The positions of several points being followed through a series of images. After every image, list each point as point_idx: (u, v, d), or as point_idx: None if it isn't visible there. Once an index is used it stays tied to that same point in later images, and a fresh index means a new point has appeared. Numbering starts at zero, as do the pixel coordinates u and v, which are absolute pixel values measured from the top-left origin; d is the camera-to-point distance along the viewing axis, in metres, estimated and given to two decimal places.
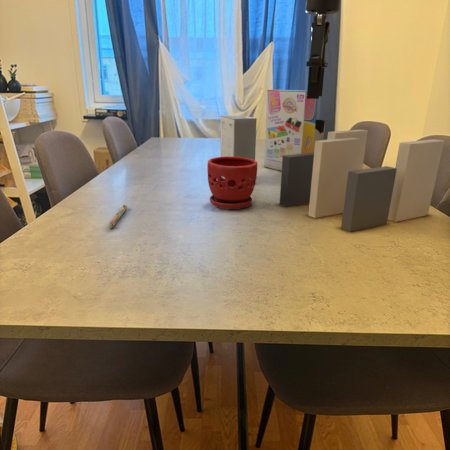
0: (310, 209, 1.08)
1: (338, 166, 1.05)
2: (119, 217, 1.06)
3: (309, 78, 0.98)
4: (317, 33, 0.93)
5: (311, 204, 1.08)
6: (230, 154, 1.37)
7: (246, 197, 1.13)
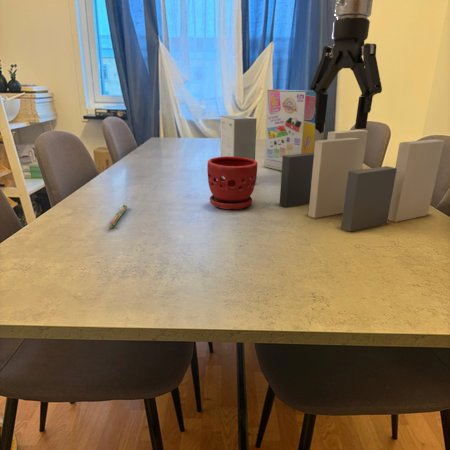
0: (310, 209, 1.08)
1: (338, 166, 1.05)
2: (119, 217, 1.06)
3: (360, 108, 0.94)
4: (372, 63, 0.90)
5: (311, 204, 1.08)
6: (230, 154, 1.37)
7: (246, 197, 1.13)
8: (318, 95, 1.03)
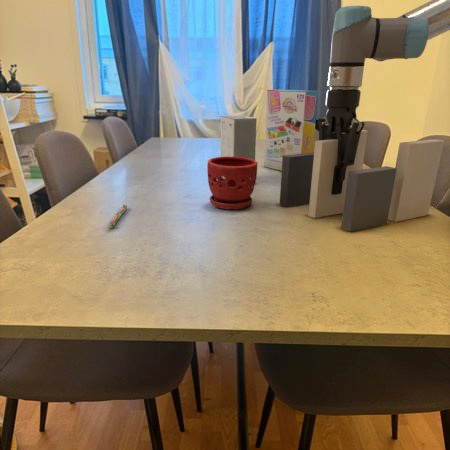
0: (310, 209, 1.08)
1: None
2: (119, 217, 1.06)
3: (336, 177, 1.05)
4: (354, 140, 0.98)
5: (311, 204, 1.08)
6: (230, 154, 1.37)
7: (246, 197, 1.13)
8: None
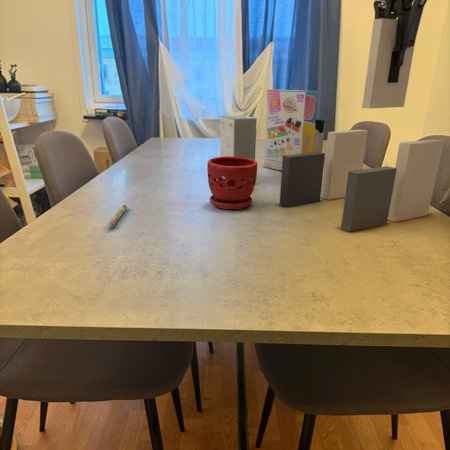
0: (364, 100, 1.03)
1: (395, 50, 0.99)
2: (119, 217, 1.06)
3: (393, 62, 0.99)
4: (417, 15, 0.93)
5: (365, 94, 1.02)
6: (230, 154, 1.37)
7: (246, 197, 1.13)
8: None
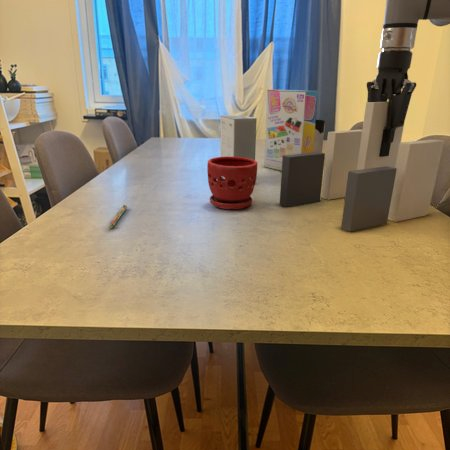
0: None
1: None
2: (119, 217, 1.06)
3: (384, 139, 1.08)
4: (406, 101, 1.01)
5: (359, 166, 1.11)
6: (230, 154, 1.37)
7: (246, 197, 1.13)
8: None
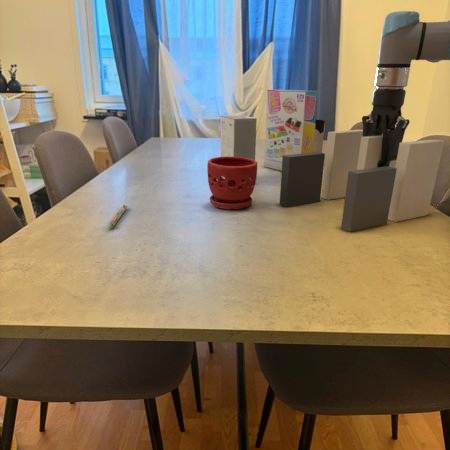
0: None
1: None
2: (119, 217, 1.06)
3: None
4: (399, 136, 1.05)
5: None
6: (230, 154, 1.37)
7: (246, 197, 1.13)
8: None
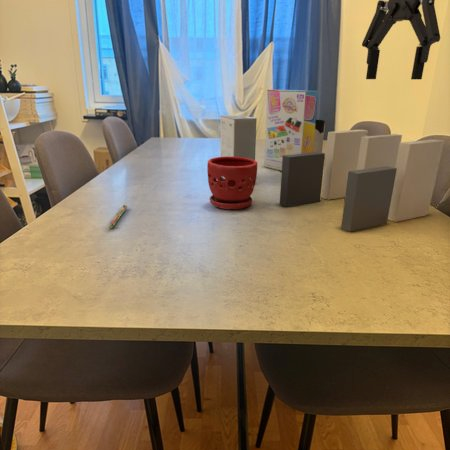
0: None
1: (381, 161, 1.11)
2: (119, 217, 1.06)
3: (418, 58, 0.96)
4: (431, 12, 0.92)
5: None
6: (230, 154, 1.37)
7: (246, 197, 1.13)
8: (371, 50, 1.05)
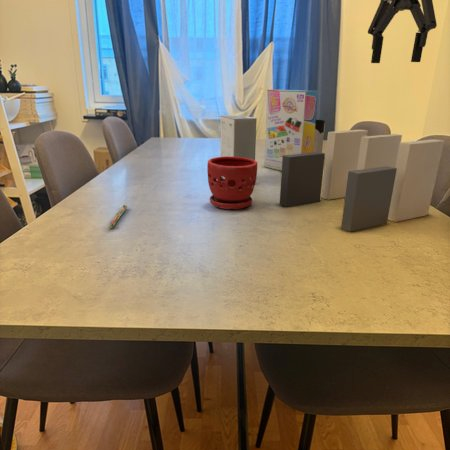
0: None
1: (381, 161, 1.11)
2: (119, 217, 1.06)
3: (417, 43, 1.09)
4: (429, 2, 1.05)
5: None
6: (230, 154, 1.37)
7: (246, 197, 1.13)
8: (375, 37, 1.19)
